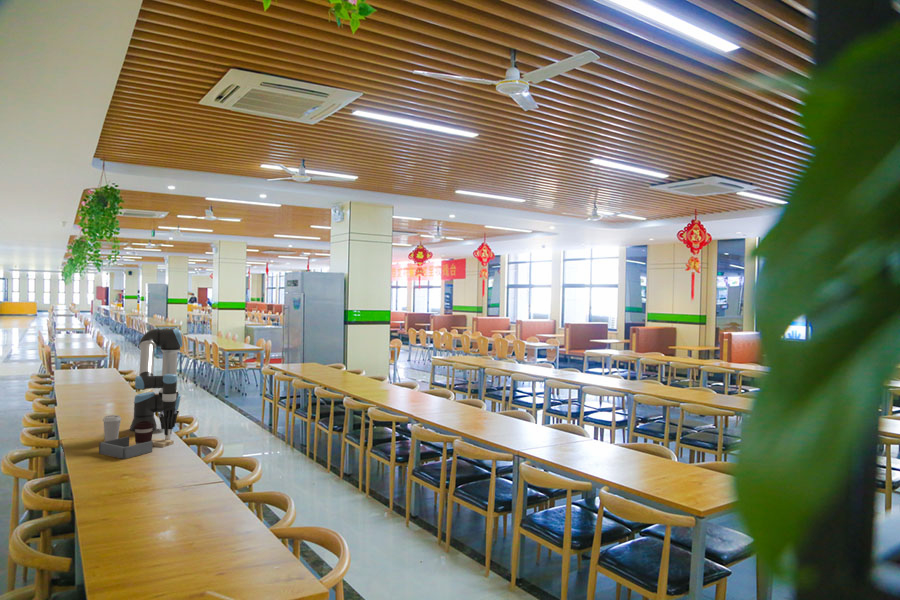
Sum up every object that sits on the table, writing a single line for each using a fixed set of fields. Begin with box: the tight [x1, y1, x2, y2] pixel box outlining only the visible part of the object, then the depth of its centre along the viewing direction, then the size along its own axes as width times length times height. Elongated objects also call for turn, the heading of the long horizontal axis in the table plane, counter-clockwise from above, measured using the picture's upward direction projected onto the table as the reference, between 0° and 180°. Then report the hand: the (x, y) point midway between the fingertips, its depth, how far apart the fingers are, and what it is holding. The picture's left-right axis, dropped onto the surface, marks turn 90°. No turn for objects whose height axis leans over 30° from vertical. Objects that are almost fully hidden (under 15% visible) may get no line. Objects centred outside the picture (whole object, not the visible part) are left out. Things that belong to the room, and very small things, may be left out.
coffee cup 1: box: [102, 414, 122, 442], centre depth 337 cm, size 10×10×15 cm
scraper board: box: [151, 438, 174, 448], centre depth 336 cm, size 8×12×2 cm, turn 74°
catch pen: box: [98, 436, 154, 460], centre depth 317 cm, size 17×20×6 cm
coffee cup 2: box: [134, 421, 154, 445], centre depth 326 cm, size 10×10×15 cm
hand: (167, 440), depth 341 cm, fingers closed
